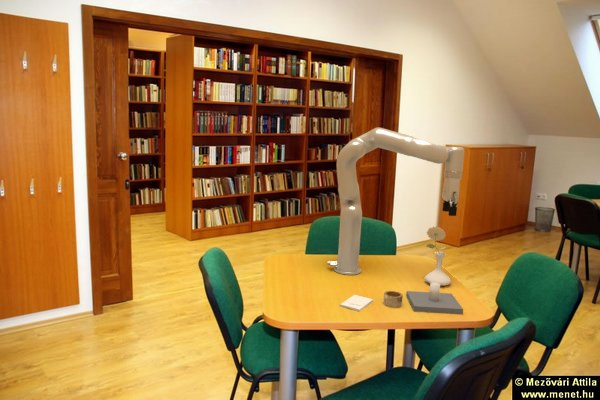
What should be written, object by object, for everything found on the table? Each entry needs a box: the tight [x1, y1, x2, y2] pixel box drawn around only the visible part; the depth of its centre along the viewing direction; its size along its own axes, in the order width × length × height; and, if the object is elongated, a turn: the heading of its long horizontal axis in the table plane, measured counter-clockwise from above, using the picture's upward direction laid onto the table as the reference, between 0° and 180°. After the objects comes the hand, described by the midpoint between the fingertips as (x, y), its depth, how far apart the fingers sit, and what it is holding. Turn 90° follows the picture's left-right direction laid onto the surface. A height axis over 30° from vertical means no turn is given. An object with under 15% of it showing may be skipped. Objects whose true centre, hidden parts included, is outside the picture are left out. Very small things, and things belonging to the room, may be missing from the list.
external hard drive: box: [339, 294, 374, 312], centre depth 186 cm, size 2×8×12 cm
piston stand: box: [405, 282, 464, 315], centre depth 188 cm, size 18×16×8 cm
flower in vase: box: [423, 226, 452, 287], centre depth 212 cm, size 13×11×25 cm
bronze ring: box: [383, 290, 404, 309], centre depth 187 cm, size 7×7×4 cm
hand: (449, 213), depth 216 cm, fingers open, 9 cm apart
